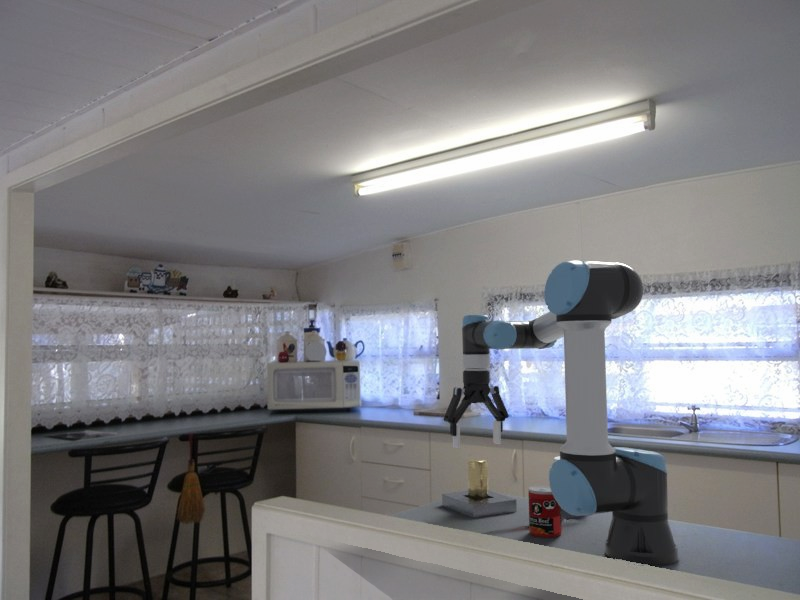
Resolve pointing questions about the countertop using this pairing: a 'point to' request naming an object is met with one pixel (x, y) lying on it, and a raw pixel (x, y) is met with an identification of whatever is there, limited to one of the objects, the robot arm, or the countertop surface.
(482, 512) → the housing
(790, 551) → the countertop surface
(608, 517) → the countertop surface
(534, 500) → the canned food
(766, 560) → the countertop surface
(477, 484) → the cream rounded cylinder
